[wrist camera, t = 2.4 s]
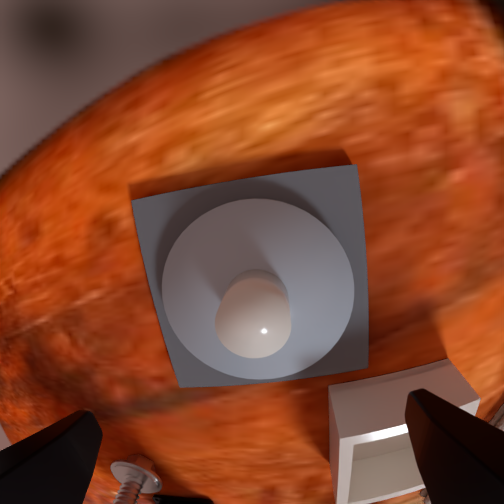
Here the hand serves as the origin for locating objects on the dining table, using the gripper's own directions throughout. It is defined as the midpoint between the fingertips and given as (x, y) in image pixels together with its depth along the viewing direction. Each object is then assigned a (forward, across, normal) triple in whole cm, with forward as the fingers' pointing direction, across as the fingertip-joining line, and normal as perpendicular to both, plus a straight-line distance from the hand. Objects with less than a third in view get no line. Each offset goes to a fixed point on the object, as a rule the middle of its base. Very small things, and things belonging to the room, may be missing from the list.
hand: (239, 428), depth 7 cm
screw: (+11, +13, +16) cm, 23 cm away
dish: (+11, -8, +12) cm, 18 cm away
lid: (+10, 0, 0) cm, 10 cm away
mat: (+11, 0, 0) cm, 11 cm away
